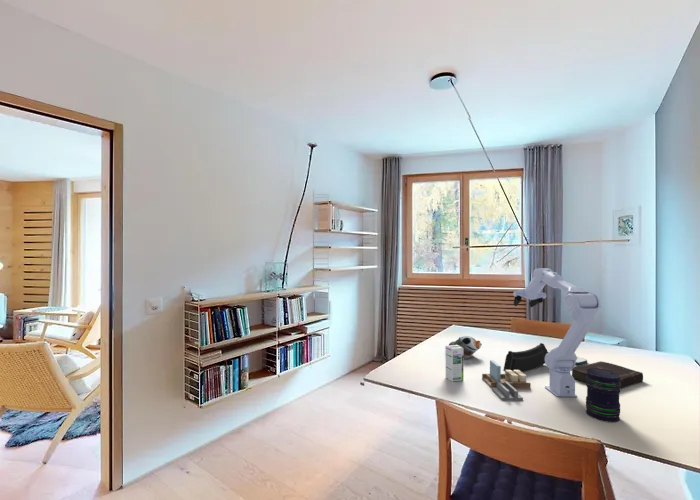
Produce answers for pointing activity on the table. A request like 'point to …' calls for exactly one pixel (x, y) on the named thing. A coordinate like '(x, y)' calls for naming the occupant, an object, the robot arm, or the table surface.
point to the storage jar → (603, 395)
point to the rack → (493, 383)
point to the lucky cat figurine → (467, 345)
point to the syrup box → (454, 362)
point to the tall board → (495, 370)
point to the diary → (626, 374)
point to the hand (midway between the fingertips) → (522, 304)
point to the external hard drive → (579, 360)
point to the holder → (506, 392)
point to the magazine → (526, 359)
